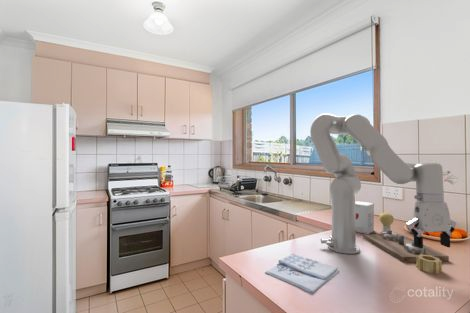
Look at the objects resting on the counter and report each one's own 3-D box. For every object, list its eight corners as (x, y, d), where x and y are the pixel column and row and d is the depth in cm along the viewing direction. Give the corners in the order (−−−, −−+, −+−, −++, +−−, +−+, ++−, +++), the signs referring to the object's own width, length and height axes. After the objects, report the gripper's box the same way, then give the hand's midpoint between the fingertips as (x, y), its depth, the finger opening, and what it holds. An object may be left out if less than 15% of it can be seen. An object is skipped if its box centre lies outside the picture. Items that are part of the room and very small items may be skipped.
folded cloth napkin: (340, 273, 84) (340, 267, 84) (311, 297, 70) (311, 289, 70) (292, 256, 98) (292, 251, 98) (261, 274, 84) (261, 267, 84)
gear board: (402, 262, 91) (402, 245, 91) (363, 238, 117) (363, 225, 117) (448, 261, 92) (448, 244, 92) (399, 238, 118) (399, 224, 118)
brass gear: (427, 274, 82) (427, 262, 82) (411, 265, 89) (411, 254, 89) (447, 274, 82) (447, 262, 82) (430, 264, 89) (430, 254, 89)
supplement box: (349, 230, 130) (349, 202, 130) (356, 227, 136) (356, 200, 136) (368, 234, 123) (368, 205, 123) (374, 230, 129) (374, 203, 129)
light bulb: (395, 233, 124) (395, 214, 124) (382, 233, 125) (382, 213, 125) (390, 230, 130) (390, 211, 130) (377, 229, 132) (377, 211, 132)
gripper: (414, 200, 81) (416, 251, 81) (463, 198, 82) (466, 249, 81) (398, 197, 89) (400, 244, 88) (444, 195, 89) (446, 242, 89)
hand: (432, 246), depth 85 cm, fingers open, 9 cm apart
